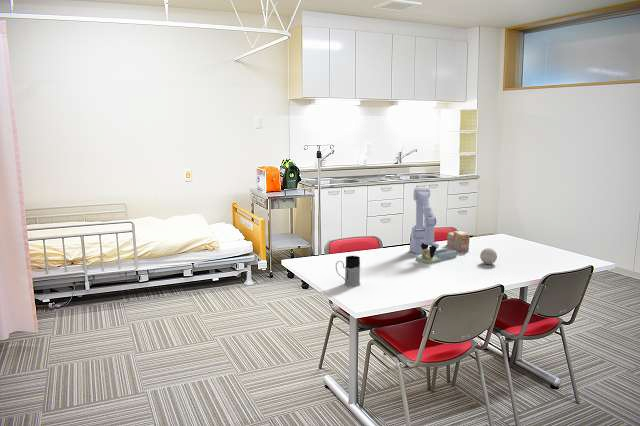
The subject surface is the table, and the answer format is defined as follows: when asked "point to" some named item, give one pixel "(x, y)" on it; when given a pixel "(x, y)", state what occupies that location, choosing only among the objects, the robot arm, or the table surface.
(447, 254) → the pale green block
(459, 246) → the stack of blocks
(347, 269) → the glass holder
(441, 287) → the table surface
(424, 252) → the maple block
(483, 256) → the eye model
